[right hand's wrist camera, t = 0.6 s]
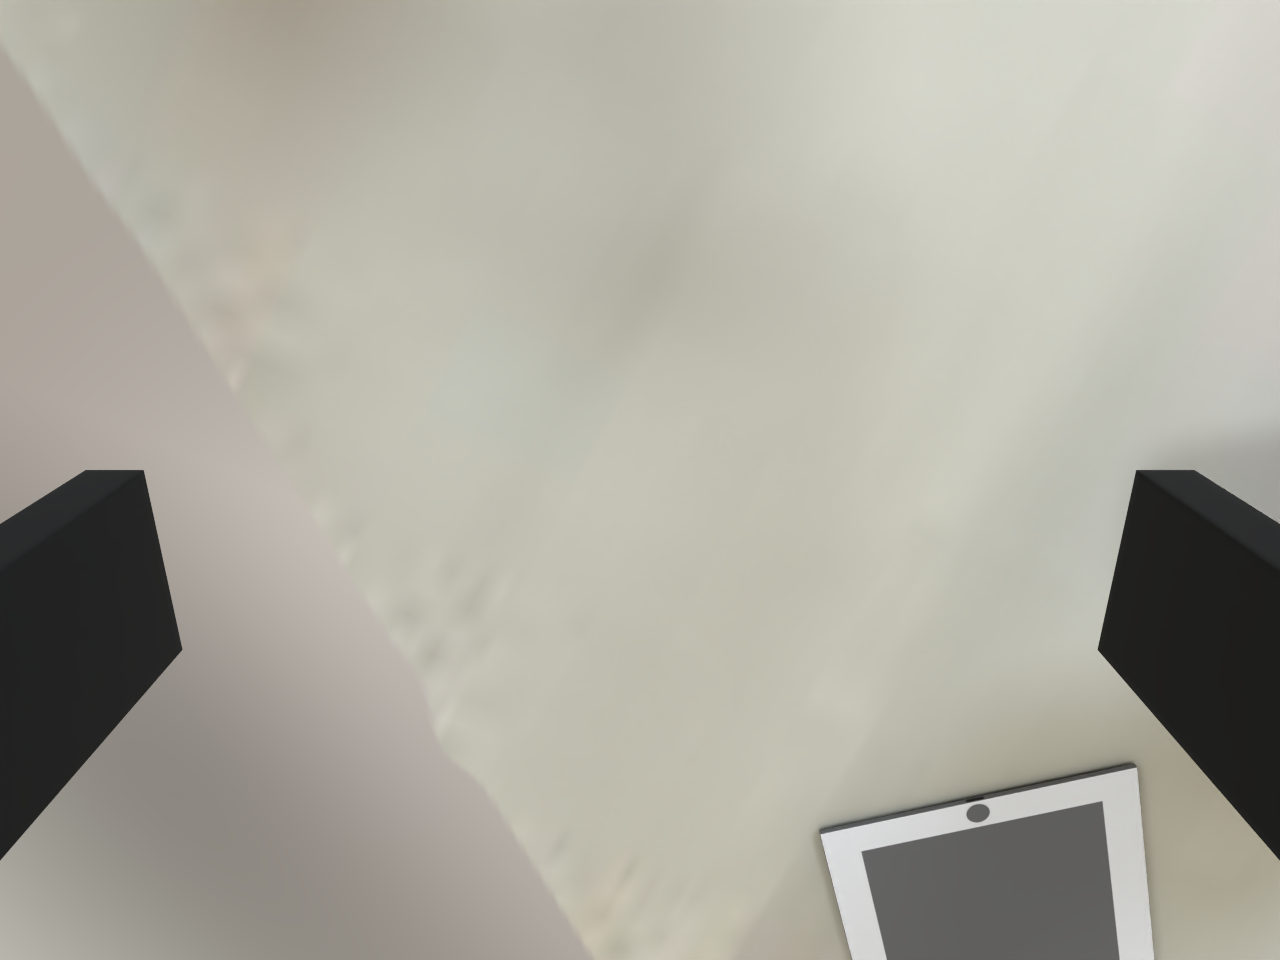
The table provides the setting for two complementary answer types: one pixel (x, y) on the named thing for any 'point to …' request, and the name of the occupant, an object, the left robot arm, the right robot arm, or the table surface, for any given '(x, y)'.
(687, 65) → the table surface
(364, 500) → the table surface
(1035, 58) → the table surface
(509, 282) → the table surface
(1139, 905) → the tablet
